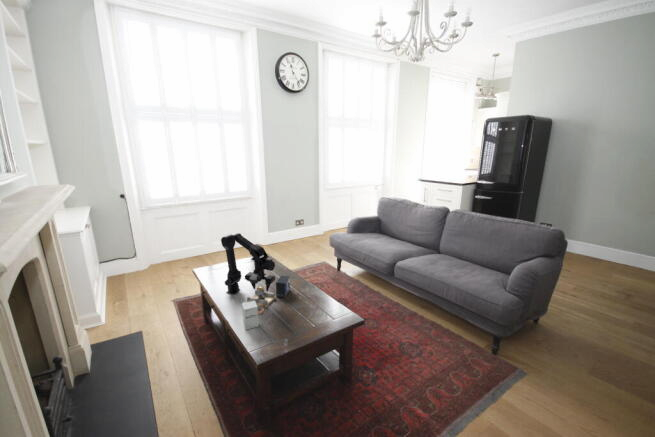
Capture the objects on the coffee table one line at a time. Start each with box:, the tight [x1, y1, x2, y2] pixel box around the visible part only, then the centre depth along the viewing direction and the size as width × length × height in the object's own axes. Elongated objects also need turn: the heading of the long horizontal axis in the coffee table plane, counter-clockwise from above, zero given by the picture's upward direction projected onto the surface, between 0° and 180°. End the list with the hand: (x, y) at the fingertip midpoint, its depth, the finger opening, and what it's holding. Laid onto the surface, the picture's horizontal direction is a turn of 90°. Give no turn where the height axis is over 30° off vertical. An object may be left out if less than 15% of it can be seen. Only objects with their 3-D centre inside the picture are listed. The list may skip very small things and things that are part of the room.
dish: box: [257, 306, 265, 316], centre depth 178 cm, size 8×8×4 cm
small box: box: [275, 275, 291, 298], centre depth 198 cm, size 11×6×10 cm, turn 168°
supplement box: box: [241, 301, 259, 331], centre depth 164 cm, size 7×7×13 cm
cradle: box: [246, 289, 277, 308], centre depth 190 cm, size 14×12×4 cm
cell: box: [256, 286, 265, 300], centre depth 189 cm, size 4×4×8 cm
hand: (260, 290), depth 188 cm, fingers open, 9 cm apart
